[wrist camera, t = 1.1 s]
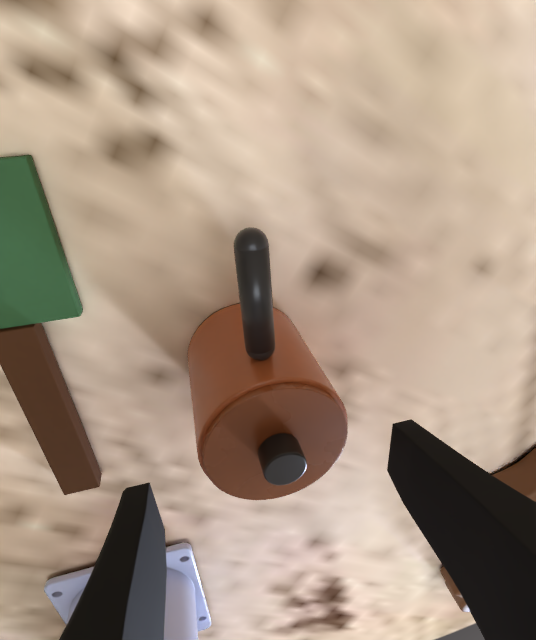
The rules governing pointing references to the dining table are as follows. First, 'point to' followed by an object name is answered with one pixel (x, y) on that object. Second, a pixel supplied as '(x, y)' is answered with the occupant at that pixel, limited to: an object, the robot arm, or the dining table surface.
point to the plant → (525, 476)
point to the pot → (260, 391)
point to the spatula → (39, 323)
